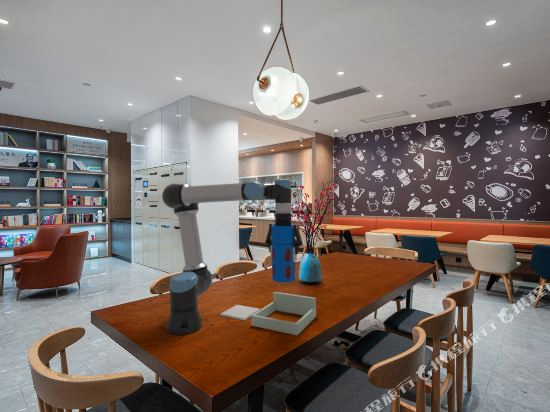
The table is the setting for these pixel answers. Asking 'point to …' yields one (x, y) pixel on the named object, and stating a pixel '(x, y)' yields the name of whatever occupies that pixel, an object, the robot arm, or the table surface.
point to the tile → (240, 312)
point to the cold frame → (289, 305)
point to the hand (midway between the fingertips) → (283, 260)
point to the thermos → (283, 254)
